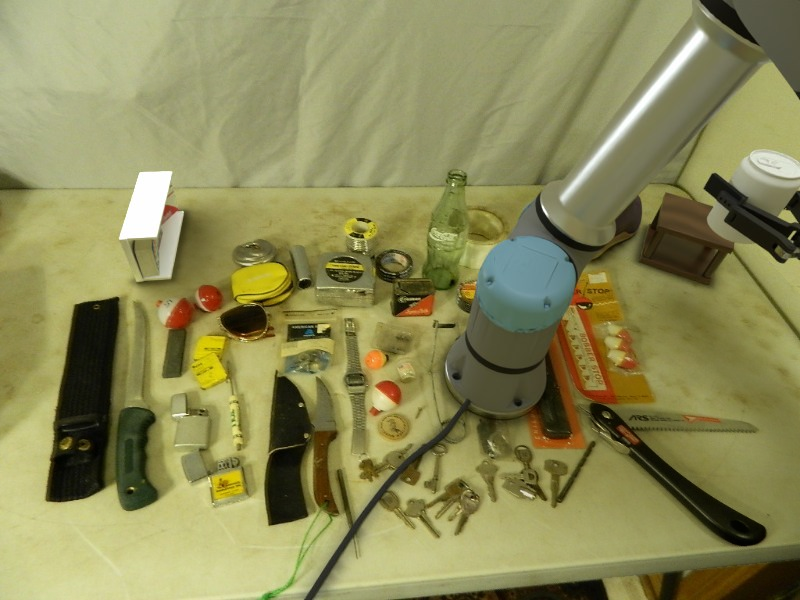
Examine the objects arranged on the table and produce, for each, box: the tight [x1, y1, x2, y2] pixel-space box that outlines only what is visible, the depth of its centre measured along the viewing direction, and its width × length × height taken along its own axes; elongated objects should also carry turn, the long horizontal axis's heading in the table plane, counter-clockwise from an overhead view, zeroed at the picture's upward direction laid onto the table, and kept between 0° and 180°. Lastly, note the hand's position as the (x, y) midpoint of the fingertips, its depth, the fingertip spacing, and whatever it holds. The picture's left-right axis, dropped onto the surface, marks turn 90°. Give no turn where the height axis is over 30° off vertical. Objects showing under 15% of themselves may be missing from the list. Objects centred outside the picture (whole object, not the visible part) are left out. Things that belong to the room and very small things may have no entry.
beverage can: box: [707, 149, 800, 245], centre depth 78 cm, size 8×8×12 cm
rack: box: [638, 191, 735, 286], centre depth 101 cm, size 12×13×9 cm
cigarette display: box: [118, 171, 185, 283], centre depth 93 cm, size 20×6×9 cm, turn 9°
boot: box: [592, 195, 643, 260], centre depth 101 cm, size 9×24×20 cm, turn 143°
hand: (732, 177), depth 81 cm, fingers closed on beverage can, 8 cm apart
